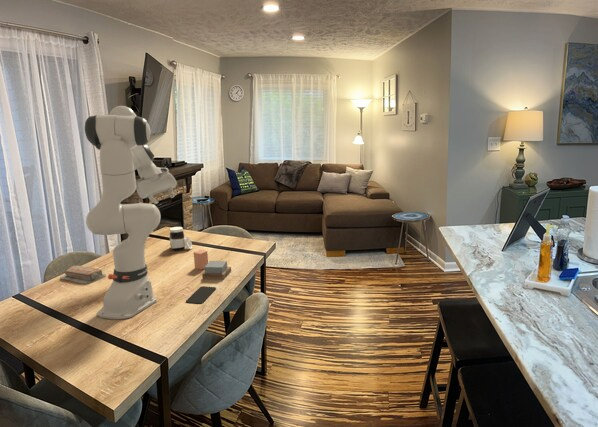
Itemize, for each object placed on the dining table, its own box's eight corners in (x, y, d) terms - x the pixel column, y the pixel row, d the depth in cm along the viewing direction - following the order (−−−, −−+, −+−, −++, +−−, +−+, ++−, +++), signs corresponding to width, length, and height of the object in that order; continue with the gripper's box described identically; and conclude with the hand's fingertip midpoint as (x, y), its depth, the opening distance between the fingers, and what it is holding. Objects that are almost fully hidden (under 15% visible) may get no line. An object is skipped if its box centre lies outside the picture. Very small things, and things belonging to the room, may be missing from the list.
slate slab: (222, 273, 180) (221, 267, 179) (205, 273, 181) (204, 267, 180) (227, 267, 188) (227, 261, 187) (210, 266, 188) (210, 260, 188)
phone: (184, 301, 157) (200, 286, 172) (184, 303, 158) (200, 287, 172) (202, 303, 156) (217, 287, 170) (202, 305, 156) (217, 289, 170)
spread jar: (169, 247, 226) (167, 227, 223) (190, 244, 231) (188, 224, 228) (172, 253, 216) (170, 232, 213) (194, 250, 220) (192, 229, 217)
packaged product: (105, 267, 184) (87, 275, 176) (107, 277, 186) (88, 285, 177) (77, 262, 191) (58, 269, 182) (79, 272, 192) (60, 279, 184)
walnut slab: (223, 281, 179) (223, 274, 179) (202, 279, 181) (202, 273, 180) (231, 272, 189) (230, 266, 188) (211, 271, 191) (210, 265, 190)
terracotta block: (201, 269, 191) (200, 253, 189) (194, 268, 194) (193, 252, 192) (208, 266, 195) (207, 251, 193) (201, 265, 197) (200, 249, 195)
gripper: (134, 178, 183) (149, 204, 183) (170, 167, 199) (184, 191, 199) (128, 184, 187) (144, 209, 187) (164, 173, 203) (178, 196, 203)
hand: (165, 200), depth 193 cm, fingers open, 8 cm apart
